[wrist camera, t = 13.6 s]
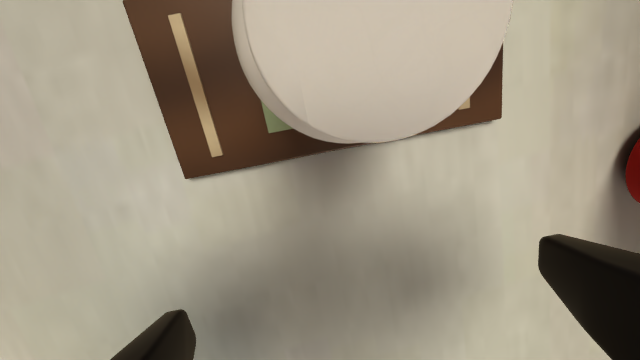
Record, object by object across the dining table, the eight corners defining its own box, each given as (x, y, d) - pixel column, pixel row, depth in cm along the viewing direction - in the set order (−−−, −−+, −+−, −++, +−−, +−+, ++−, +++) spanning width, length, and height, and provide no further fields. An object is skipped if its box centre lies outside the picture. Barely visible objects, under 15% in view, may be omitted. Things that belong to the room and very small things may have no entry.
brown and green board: (494, 116, 19) (504, 119, 18) (189, 175, 19) (183, 181, 18) (496, -76, 15) (509, -86, 14) (127, -4, 15) (116, -9, 14)
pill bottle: (414, 34, 16) (634, -21, 5) (336, 132, 17) (392, 236, 7) (315, -61, 14) (360, -394, 4) (238, 55, 16) (120, 40, 5)
